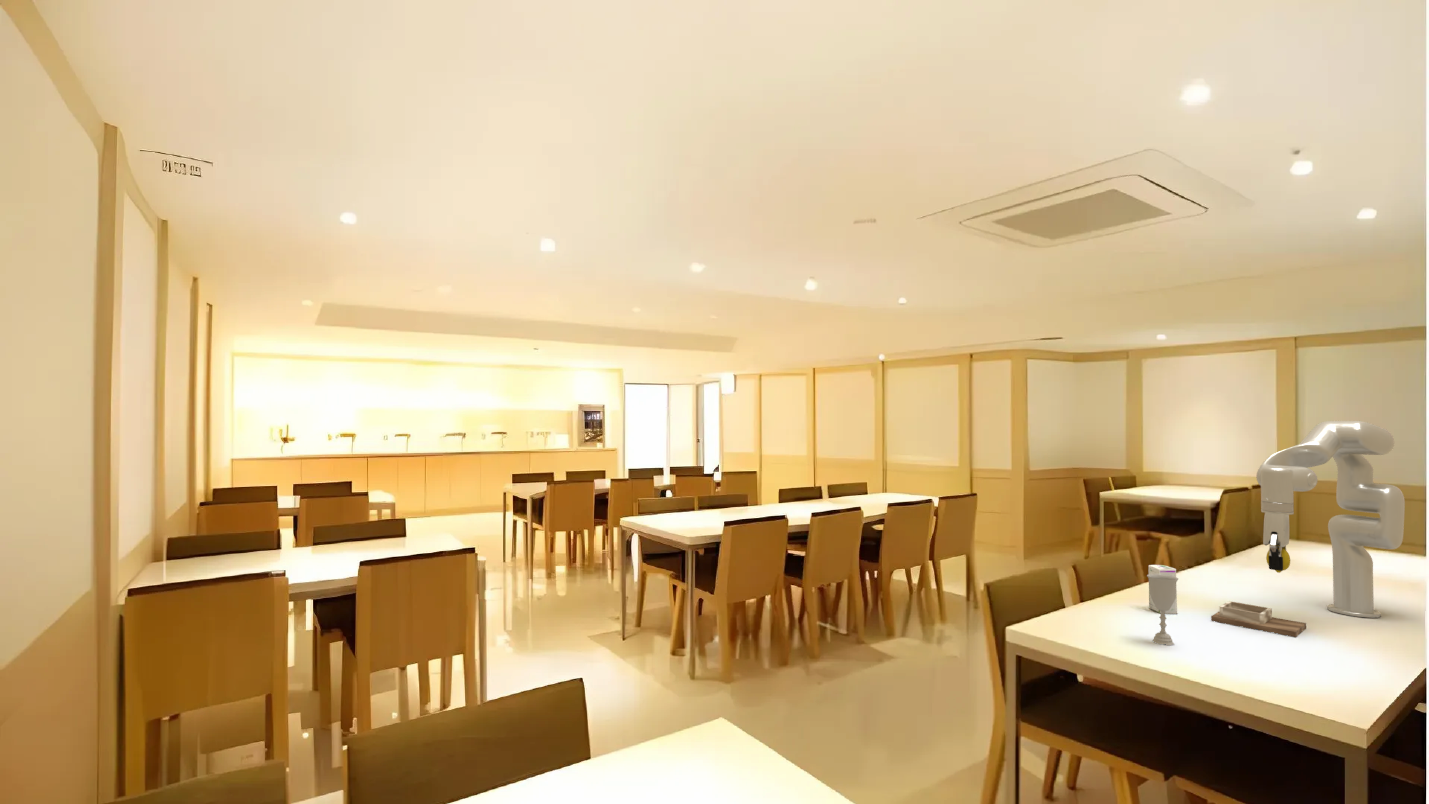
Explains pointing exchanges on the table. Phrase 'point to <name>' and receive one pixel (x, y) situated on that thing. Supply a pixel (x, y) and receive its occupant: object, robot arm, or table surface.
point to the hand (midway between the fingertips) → (1278, 567)
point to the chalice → (1162, 601)
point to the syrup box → (1163, 571)
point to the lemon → (1285, 559)
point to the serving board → (1256, 619)
